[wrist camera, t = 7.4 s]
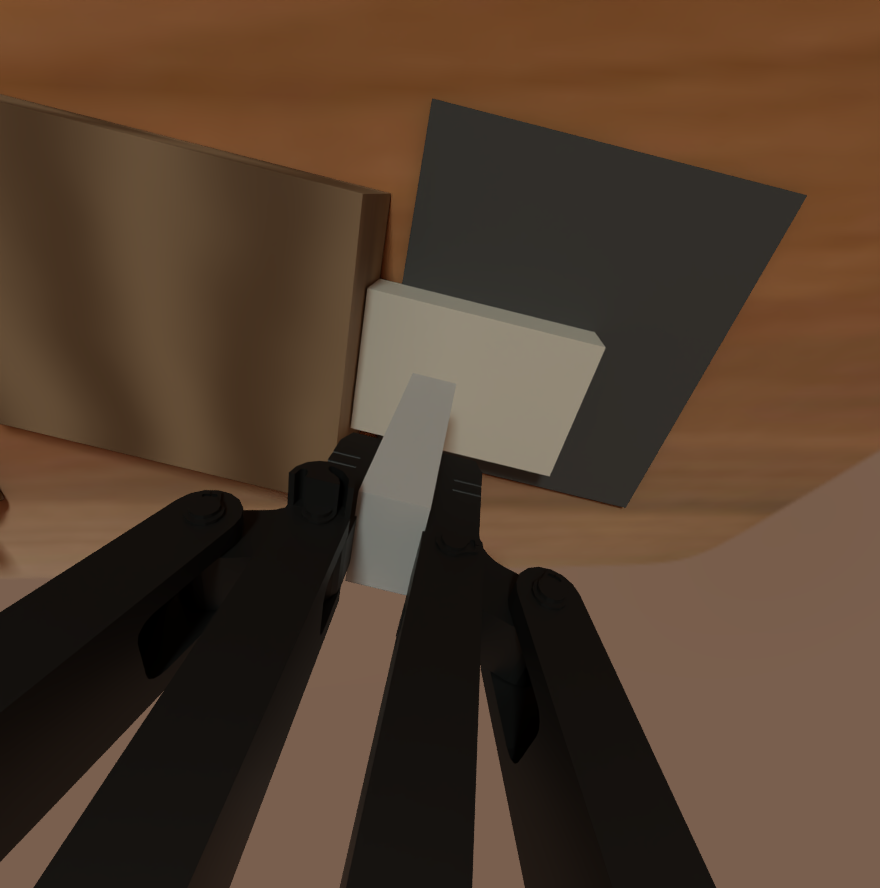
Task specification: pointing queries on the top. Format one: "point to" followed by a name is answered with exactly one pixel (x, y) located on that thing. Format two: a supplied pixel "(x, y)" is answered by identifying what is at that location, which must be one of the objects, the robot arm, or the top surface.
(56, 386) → the brown wooden flat slab
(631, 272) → the mat
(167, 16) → the top surface
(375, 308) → the block
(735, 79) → the top surface
